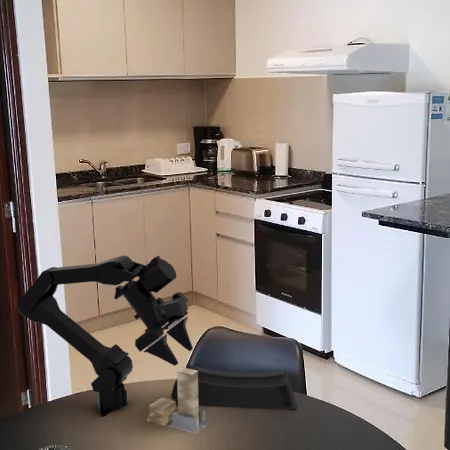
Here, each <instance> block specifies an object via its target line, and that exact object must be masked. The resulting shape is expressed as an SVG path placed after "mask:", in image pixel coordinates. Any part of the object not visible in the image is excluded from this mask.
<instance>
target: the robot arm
mask: <svg viewBox="0 0 450 450" xmlns="http://www.w3.org/2000/svg"><path fill="white" fill-rule="evenodd" d="M136 278H138V279H137V280H134V279H136ZM176 279H177V272H176V270H175V268H174V266H173V265H172V264H171V263H169V262H168V261H167V260H164V259H162V258H161V257H160V255H157V256H154V258H152V259H150V261H149V262H148V264H147V263H146V265H145V264H142V263H139V262H136V261H133V260H132V259H131V258H130V256H127V255H120V256H115V257H113V258H109V259H107V260H104V261H101V262H98V263H90V264H80V265H78V264H77V265H70V266H59V267H57V266H52V267H48V268H47V269H45V270H42V272H41V273H40V274H39V275H38V277H37V279H36V280H35V281H34V283H32V285H31V286H30V287H28V290H26V292H25V293H24V294H23V295H21V296H20V297H19V298H18V301H17V307H18V309H17V311H18V312H19V313H20V314H21V316H23V317H24V318H27V319H28V320H30V321H31V322H33V323H37V324H42V325H45V326H47V327H48V328H49V329H51V330H52V331H53V332H54V333H55V334H56V335H58V336H59V337H60V338H61V339H63V340H64V341H65V342H66V343H68V345H70V346H71V347H73V349H75V350H76V351H77V352H79V354H81V355H82V356H84V357H85V359H87V360H88V361H89V362H90V363H91V365H92V369H93V371H94V372H95V374H96V375H97V377H96V378H95V379H94V380H93V381H92V382H91V383H90V384H91V385H90V386H91V387H92V390H93V392H95V393H96V401H97V402H96V404H95V407H96V409H97V411H98V413H99V415H100V417H106V416H107V415H108V414H110V413H112V412H114V411H117V410H119V409H121V408H122V407H125V406H127V405H128V393H127V389H126V387H125V384H124V383H123V382H124V381H126V380H127V377H128V375H130V374H131V373H132V371H133V368H134V367H133V359H132V358H131V357H130V356H129V355H130V353H129V352H127V351H125V350H123V349H122V348H121V346H119V345H118V344H117V343H115V344H114V345H112V346H111V347H110V346H107V345H104V344H102V342H100V341H99V340H98V339H96V338H95V337H94V336H93V335H92V334H91V333H89V332H88V331H87V330H85V328H83V327H81V326H80V325H79V324H78V323H77V322H76V321H74V319H72V318H71V317H70V316H68V315H67V314H66V313H64V311H63V310H61V309H60V306H59V303H58V301H57V299H56V297H54V294H55V293H56V292H57V289H58V286H59V285H71V284H80V283H92V282H94V283H99V284H102V285H106V286H108V285H109V286H115V293H114V297H113V298H114V300H118V299H119V298H122V297H124V299H125V300H126V301H127V303H128V304H129V305H130V307H131V308H132V310H133V312H135V315H134V316H133V317H134V319H135V320H136V321H137V320H138V319H140V321H141V322H142V324H144V326H145V327H146V329H145V330H144V333H142V334H141V335H139V336H138V337H137V338H135V340H134V341H135V342H134V346H135V347H136V349H137V350H138V352H139V353H141V352H143V353H144V354H145V353H147V354H150V355H153V356H155V357H156V358H158V359H161V360H163V361H165V362H166V363H169V364H171V365H172V366H175V367H176V366H177V365H178V364H179V362H178V359H177V357H176V356H175V354H174V352H173V351H172V349H171V348H170V346H169V345H168V340H167V339H168V336H170V338H173V339H174V340H175V341H176V342H177V343H178V344H179V345H180V346H182V347H183V348H184V349H186V350H187V351H188V352H191V351H192V350H193V348H194V347H193V345H192V341H191V340H190V336H189V333H188V331H187V327H186V326H187V325H186V324H187V321H188V316H187V315H188V314H189V312H188V310H189V306H188V304H187V303H188V302H189V299H188V297H186V295H184V294H183V292H182V291H178V292H175V293H173V294H172V298H170V299H168V300H166V301H164V299H163V298H162V297H156V296H155V295H154V294H155V293H156V294H158V293H159V292H160V291H162V290H163V289H164V288H166V287H167V286H168V285H169V284H171V283H173V281H174V280H176ZM122 283H125V284H124V285H121V284H122ZM153 293H154V294H153ZM165 330H166V333H165Z"/></svg>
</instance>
